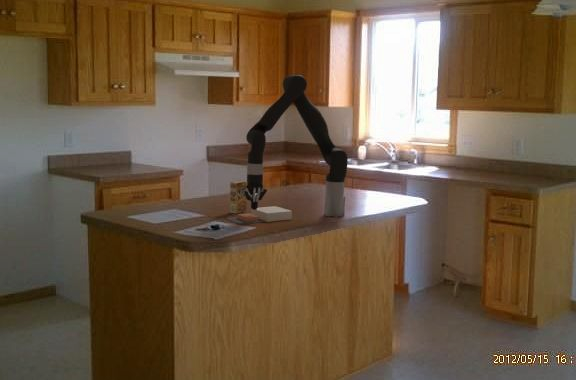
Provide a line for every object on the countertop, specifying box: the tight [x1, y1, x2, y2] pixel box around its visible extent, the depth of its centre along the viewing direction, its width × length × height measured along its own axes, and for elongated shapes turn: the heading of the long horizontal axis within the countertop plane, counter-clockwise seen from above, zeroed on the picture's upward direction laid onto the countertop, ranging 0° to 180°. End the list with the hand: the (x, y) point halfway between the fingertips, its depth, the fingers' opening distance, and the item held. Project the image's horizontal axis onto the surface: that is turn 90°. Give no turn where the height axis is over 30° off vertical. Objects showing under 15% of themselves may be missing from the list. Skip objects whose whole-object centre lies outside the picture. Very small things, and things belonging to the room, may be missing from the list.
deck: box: [250, 205, 293, 223], centre depth 328 cm, size 14×14×4 cm
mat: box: [224, 216, 266, 225], centre depth 320 cm, size 14×14×1 cm
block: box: [236, 212, 258, 222], centre depth 320 cm, size 6×9×2 cm, turn 36°
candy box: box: [229, 180, 248, 215], centre depth 338 cm, size 9×4×15 cm, turn 146°
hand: (254, 209), depth 322 cm, fingers closed
